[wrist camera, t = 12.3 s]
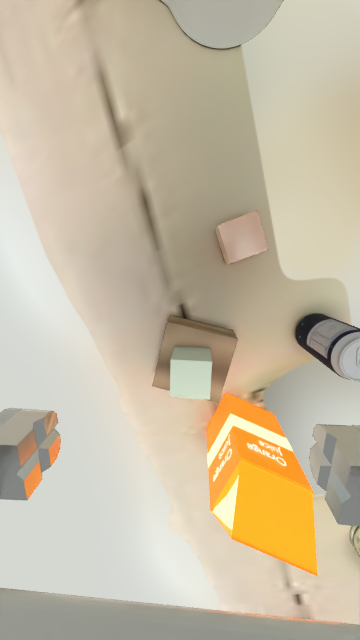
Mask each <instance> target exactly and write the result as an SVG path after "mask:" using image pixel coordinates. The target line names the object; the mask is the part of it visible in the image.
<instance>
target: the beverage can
mask: <svg viewBox="0 0 360 640" xmlns="http://www.w3.org/2000/svg"><path fill="white" fill-rule="evenodd" d="M296 340H297V342H298V343H299V345H300V346H301V347H303V348H304V349H305V350H306V351H308V352H309V353H310V354H312V355H313V356H314V357H315V358H317V359H318V360H319V361H321V362H322V363H323V364H324V365H326V366H327V367H328V368H330V369H331V370H332V371H334V372H335V373H336V374H337V375H339V376H341V377H343V378H345V379H350V380H354V381H360V329H359V328H357V327H354V326H352V325H349V324H347V323H344V322H341V321H339V320H336V319H333V318H331V317H328V316H326V315H323V314H312V315H309V316H307V317H305V318H304V319H302V320H301V321H300V323H299V324H298V326H297V328H296Z"/></svg>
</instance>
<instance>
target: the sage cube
mask: <svg viewBox="0 0 360 640" xmlns="http://www.w3.org/2000/svg"><path fill="white" fill-rule="evenodd" d="M211 373H212V357H211V349H210V348H198V347H177V346H175V347H174V350H173V353H172V356H171V360H170V397H175V398H191V399H207V400H210V391H211Z"/></svg>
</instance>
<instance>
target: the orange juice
mask: <svg viewBox="0 0 360 640" xmlns="http://www.w3.org/2000/svg"><path fill="white" fill-rule="evenodd" d="M207 449H208V454H207V456H208V469H209V489H210V509H211V511H212V513H213V514H214V515H215V517H216V518H217V519H218V521H219V522H220V524H221V525H222V526H223V528H224V529H225V530H226V532H227V533H228V534H229V536H230V537H231V538H232V539H233V540H236V541H238V542H240V543H243V544H245V545H247V546H249V547H252V548H254V549H256V550H259V551H261V552H263V553H266V554H268V555H270V556H273V557H275V558H277V559H279V560H282V561H284V562H286V563H289V564H291V565H293V566H296V567H298V568H300V569H303V570H305V571H307V572H309V573H312V574H314V575H316V576H318V575H317V561H316V544H315V528H314V511H313V495H312V494H313V490H312V488H311V487H310V484H309V482H308V480H307V478H306V476H305V475H304V472H303V471H302V469H301V467H300V465H299V463H298V461H297V459H296V457H295V455H294V453H293V450H292V448H291V446H290V444H289V442H288V440H287V438H286V437H285V435H284V433H283V431H282V429H281V427H280V425H279V423H278V421H277V420H276V418H275V416H274V414H273V413H271V412H268V411H266V410H264V409H262V408H259V407H257V406H255V405H253V404H250V403H248V402H246V401H244V400H241V399H239V398H237V397H235V396H233V395H230V394H228V393H226V394H225V395H224V397H223V399H222V401H221V403H220V405H219V406H218V408H217V410H216V412H215V414H214V416H213V417H212V419H211V421H210V423H209V425H208V427H207Z"/></svg>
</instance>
